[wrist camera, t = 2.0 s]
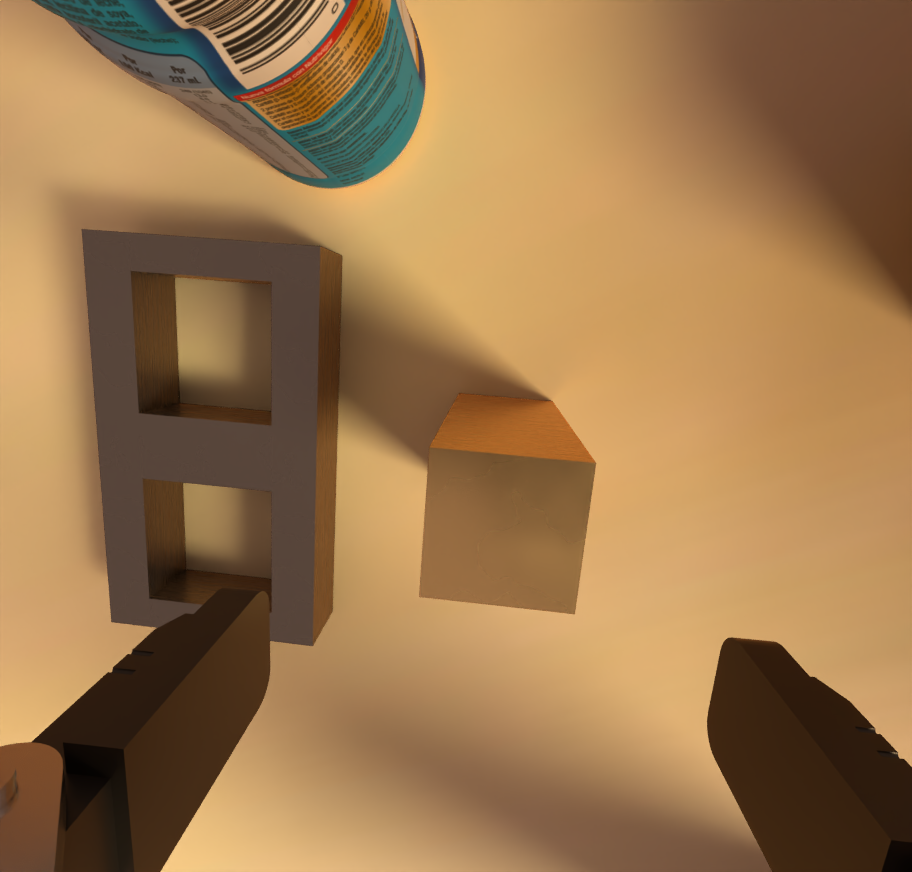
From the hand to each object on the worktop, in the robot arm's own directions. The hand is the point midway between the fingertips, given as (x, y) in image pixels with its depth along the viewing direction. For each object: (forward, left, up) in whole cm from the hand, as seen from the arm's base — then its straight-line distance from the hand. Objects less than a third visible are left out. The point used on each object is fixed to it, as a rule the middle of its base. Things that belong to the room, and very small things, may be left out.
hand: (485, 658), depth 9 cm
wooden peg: (0, 0, -16) cm, 16 cm away
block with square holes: (+13, +1, -16) cm, 21 cm away
